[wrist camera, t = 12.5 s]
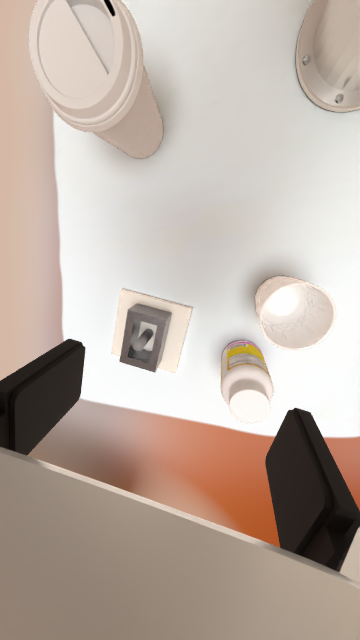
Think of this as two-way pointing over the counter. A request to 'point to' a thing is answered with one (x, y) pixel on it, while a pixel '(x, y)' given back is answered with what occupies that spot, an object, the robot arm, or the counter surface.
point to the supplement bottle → (246, 382)
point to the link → (131, 333)
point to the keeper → (153, 327)
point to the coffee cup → (96, 71)
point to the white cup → (294, 312)
